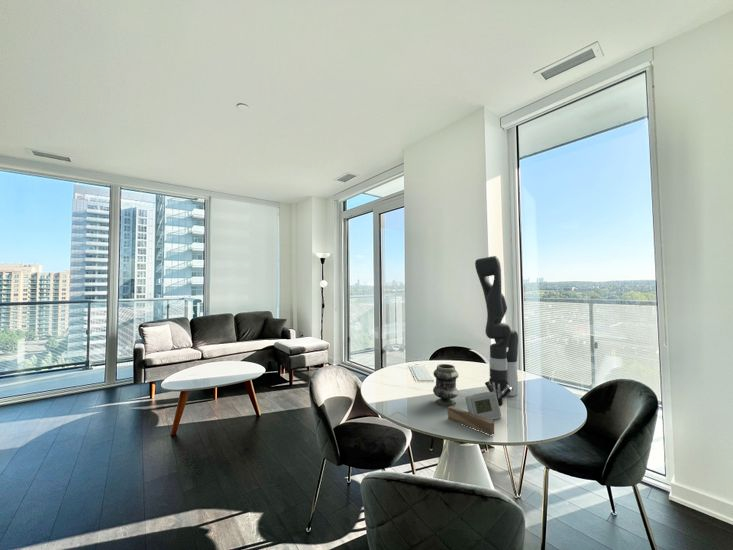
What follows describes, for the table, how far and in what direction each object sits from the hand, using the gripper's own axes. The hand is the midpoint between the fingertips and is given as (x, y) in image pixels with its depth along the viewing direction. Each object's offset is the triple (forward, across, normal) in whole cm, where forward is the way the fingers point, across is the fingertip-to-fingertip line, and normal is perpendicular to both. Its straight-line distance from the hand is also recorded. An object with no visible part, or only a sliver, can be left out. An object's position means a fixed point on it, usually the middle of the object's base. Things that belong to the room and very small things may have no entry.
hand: (498, 405), depth 148 cm
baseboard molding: (+4, +62, -15) cm, 64 cm away
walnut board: (+2, -1, +23) cm, 23 cm away
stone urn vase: (+3, +21, +11) cm, 24 cm away
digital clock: (+3, 0, +13) cm, 13 cm away
